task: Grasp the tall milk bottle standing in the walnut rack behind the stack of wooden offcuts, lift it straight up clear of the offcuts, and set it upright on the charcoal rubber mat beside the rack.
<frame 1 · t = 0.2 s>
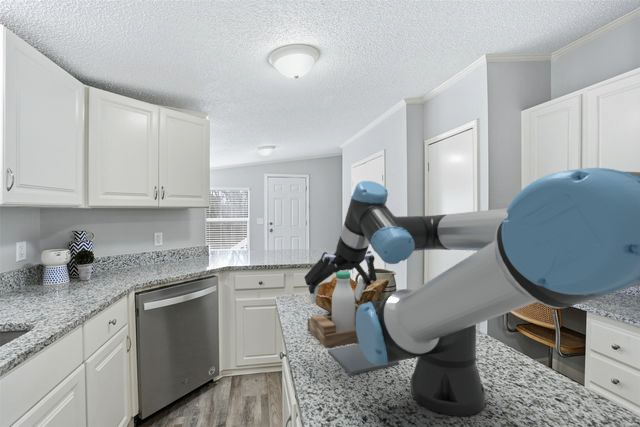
hand: (334, 298, 94), 16 cm above the countertop, tool tilted 35°, fingers open, 13 cm apart
rubber mat: (361, 358, 91), on the countertop
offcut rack: (339, 334, 108), on the countertop
milk bottle: (343, 334, 109), resting in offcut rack
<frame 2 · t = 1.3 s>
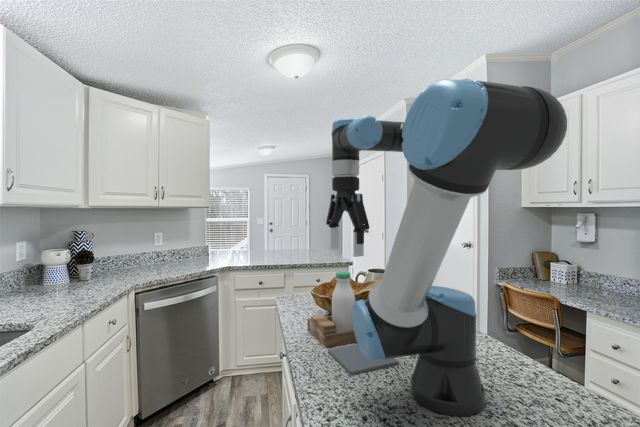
hand: (345, 252, 94), 28 cm above the countertop, tool pointing down, fingers open, 13 cm apart
nothing on the countertop moved.
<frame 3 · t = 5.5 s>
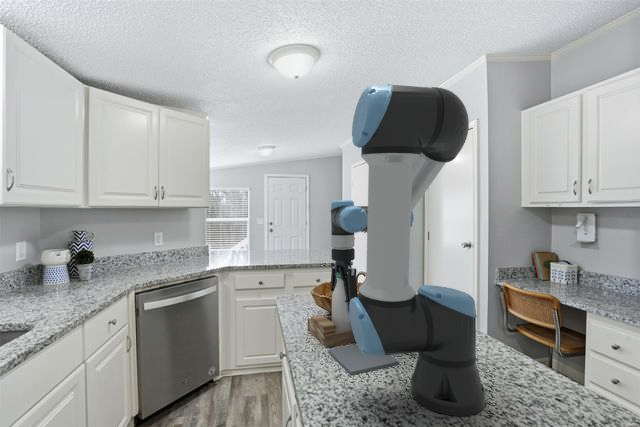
hand: (343, 317, 109), 5 cm above the countertop, tool pointing down, fingers closed on milk bottle, 8 cm apart
milk bottle: (343, 334, 109), resting in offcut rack, touching gripper
when the fingers open (7 cm above the countertop, at t = 13.3 s): milk bottle stays where it is, resting on rubber mat.
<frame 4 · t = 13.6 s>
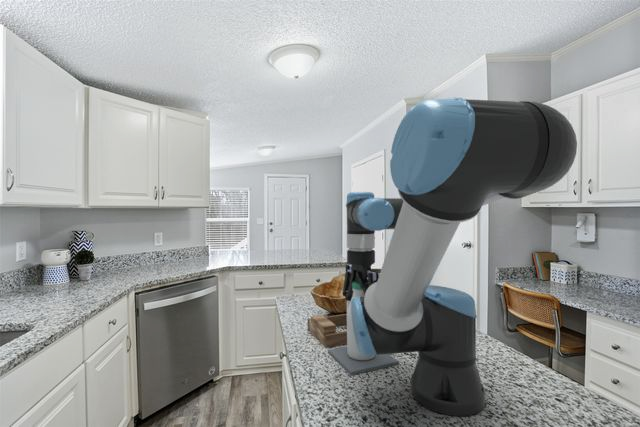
hand: (361, 329, 91), 8 cm above the countertop, tool pointing down, fingers open, 11 cm apart
milk bottle: (361, 355, 91), point 1 cm above the countertop, touching rubber mat
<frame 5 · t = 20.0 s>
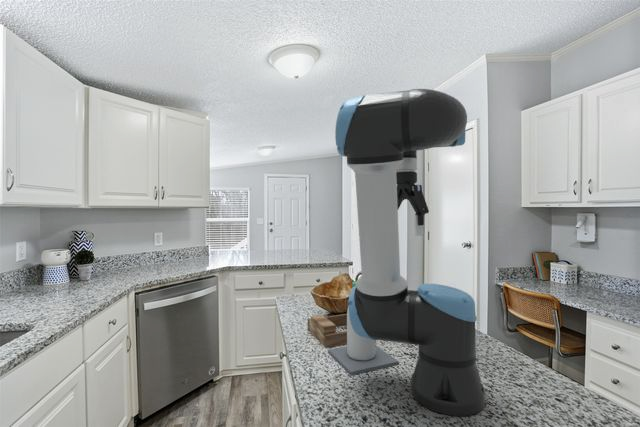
hand: (405, 234, 114), 32 cm above the countertop, tool pointing down, fingers open, 13 cm apart
nothing on the countertop moved.
at the end: milk bottle inside the target area on the rubber mat (0.2 cm from its centre), point 0.6 cm above the rubber mat's base; milk bottle tilted 0°; the gripper is holding nothing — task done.
